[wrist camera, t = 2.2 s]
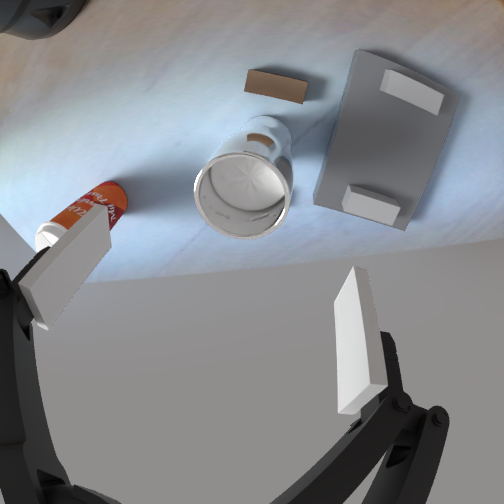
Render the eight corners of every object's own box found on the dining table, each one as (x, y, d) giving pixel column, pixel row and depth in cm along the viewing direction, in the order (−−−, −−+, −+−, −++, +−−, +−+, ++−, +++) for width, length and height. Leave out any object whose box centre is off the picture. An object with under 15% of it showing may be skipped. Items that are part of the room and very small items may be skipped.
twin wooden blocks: (251, 69, 26) (248, 69, 25) (307, 81, 26) (308, 82, 25) (227, 195, 36) (224, 203, 34) (275, 207, 36) (273, 214, 34)
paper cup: (140, 189, 37) (82, 250, 26) (127, 229, 42) (78, 292, 30) (96, 165, 36) (30, 216, 24) (87, 206, 40) (31, 261, 29)
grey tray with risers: (355, 50, 23) (364, 48, 20) (449, 92, 23) (468, 98, 20) (312, 194, 34) (314, 212, 31) (399, 220, 34) (409, 240, 31)
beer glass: (308, 147, 31) (314, 210, 19) (260, 180, 34) (236, 257, 22) (268, 99, 28) (246, 127, 16) (221, 136, 32) (171, 190, 20)
